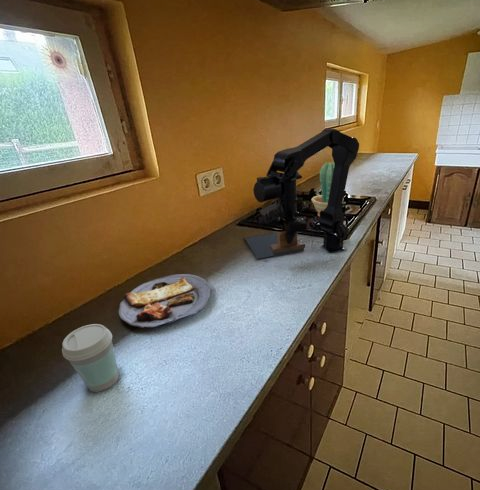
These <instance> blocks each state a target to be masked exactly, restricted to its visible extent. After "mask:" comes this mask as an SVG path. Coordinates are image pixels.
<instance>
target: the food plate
mask: <svg viewBox="0 0 480 490" xmlns="http://www.w3.org/2000/svg"><path fill="white" fill-rule="evenodd" d="M210 296H211V288H210V285H209V284H208V281H206V279H205V278H202V277H200V276H198V275H195V274H189V273H180V274H175V273H174V274H170V275H169V274H168V275H165V276H161V277H158V278H155V279H152V280H149V281H147V282H144V283H142V284H140V285H138V286H137V287H135V288H133V289H132V290H131V291H130V292H129V291H128V292H126V293H124V295H123V299H122V301H120V302H119V306H118V309H117V314H118V317H119V320H121V321H122V322H124V323H125V324H127V325H128V326H129V327H135V328H136V329H139V328H140V329H143V328H145V327H146V328H147V329H152V328H156V327H159V326H162V325H166V324H170V323H174V322H176V321H178V320H181V319H184V318H185V317H188V316H193V315H196V314H197V313H199V312H200V311H201V310H202V309H204V307H205V306H206V305H207V304H208V299H209V298H210Z"/></svg>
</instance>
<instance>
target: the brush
mask: <svg viewBox="0 0 480 490" xmlns="http://www.w3.org/2000/svg"><path fill="white" fill-rule="evenodd" d="M276 233H277V235H278V244H273V245H270V249H271V252H272V254H273V255H274V256H276V257H280V255H281V256H286V255H285V254H287V255H291V253H292V254H297V253H303V252H305V249H306V243H305V242H304V241H303V240H302V239H298V232H297V233H296V235H295V237H294V239H293V241H292V243H291V244H288V242H287V238H286V232H285V231H283V232H282V231H277V232H276ZM296 252H297V253H296Z"/></svg>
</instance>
